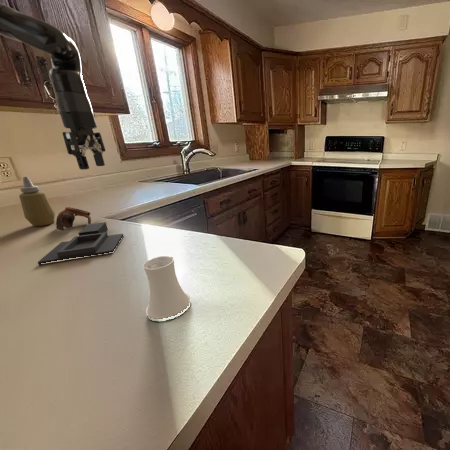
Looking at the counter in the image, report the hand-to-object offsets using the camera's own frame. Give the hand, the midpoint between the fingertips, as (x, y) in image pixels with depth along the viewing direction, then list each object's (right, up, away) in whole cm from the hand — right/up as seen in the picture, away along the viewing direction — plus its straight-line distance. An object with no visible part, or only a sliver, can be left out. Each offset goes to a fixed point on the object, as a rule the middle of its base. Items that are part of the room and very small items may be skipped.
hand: (93, 167), depth 77 cm
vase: (+40, -34, -30) cm, 61 cm away
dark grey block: (-4, -22, +5) cm, 23 cm away
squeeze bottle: (-33, -18, +17) cm, 41 cm away
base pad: (+2, -25, -5) cm, 26 cm away
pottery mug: (-19, -19, +14) cm, 30 cm away
